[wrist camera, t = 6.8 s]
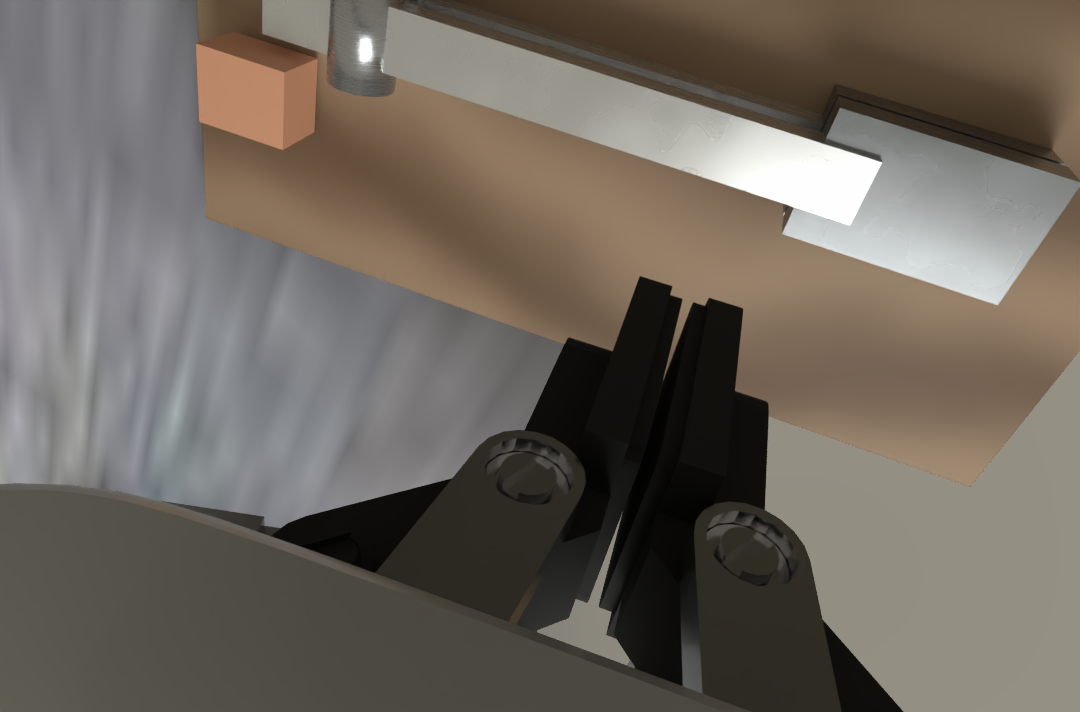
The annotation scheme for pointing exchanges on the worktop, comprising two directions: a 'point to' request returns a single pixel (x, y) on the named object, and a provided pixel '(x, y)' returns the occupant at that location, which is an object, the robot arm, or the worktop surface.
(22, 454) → the worktop surface
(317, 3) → the tongs lower arm
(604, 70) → the upper tong arm
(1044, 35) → the walnut cutting board
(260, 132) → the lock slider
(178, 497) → the worktop surface
